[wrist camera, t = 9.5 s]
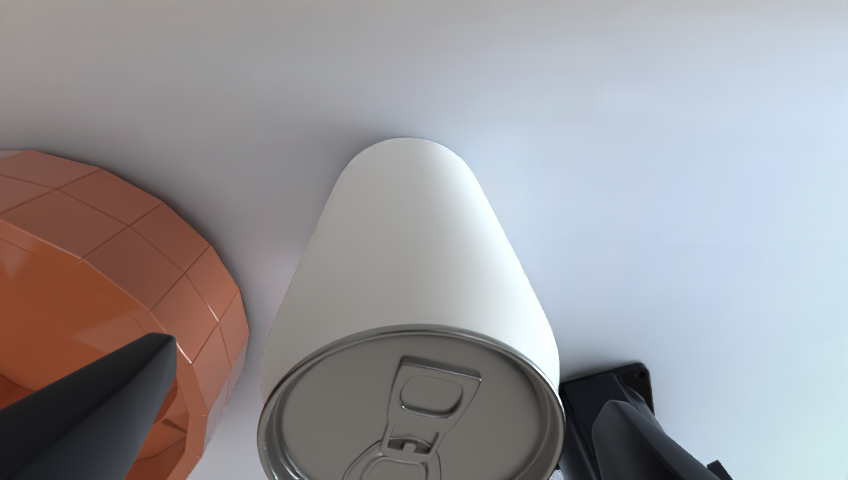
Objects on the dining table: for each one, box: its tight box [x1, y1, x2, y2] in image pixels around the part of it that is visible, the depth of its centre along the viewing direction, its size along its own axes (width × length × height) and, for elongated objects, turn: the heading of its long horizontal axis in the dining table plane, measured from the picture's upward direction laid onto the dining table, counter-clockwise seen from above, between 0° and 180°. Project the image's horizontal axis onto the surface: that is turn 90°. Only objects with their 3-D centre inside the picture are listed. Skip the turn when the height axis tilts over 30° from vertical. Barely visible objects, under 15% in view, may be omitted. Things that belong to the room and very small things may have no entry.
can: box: [257, 137, 566, 480], centre depth 13 cm, size 6×6×12 cm
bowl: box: [0, 150, 249, 480], centre depth 17 cm, size 15×15×6 cm
